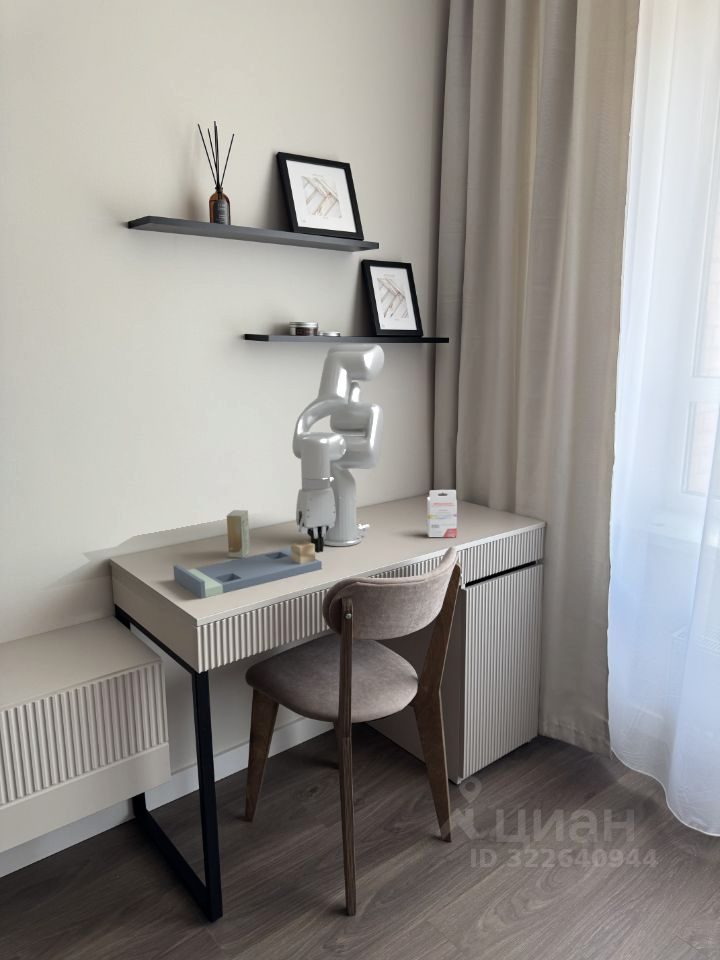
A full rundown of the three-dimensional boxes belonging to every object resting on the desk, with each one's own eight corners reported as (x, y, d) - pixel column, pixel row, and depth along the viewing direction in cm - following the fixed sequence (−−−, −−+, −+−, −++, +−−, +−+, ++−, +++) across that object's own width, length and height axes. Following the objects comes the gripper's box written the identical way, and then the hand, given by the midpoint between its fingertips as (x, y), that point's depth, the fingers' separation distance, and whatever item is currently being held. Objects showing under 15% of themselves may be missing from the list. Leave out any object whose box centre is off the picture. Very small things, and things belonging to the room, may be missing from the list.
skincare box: (235, 551, 204) (233, 509, 202) (250, 551, 203) (248, 509, 201) (228, 557, 198) (225, 515, 195) (243, 558, 197) (241, 515, 195)
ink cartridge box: (454, 533, 219) (455, 486, 216) (456, 537, 214) (457, 490, 212) (426, 533, 219) (427, 486, 216) (428, 538, 214) (428, 490, 211)
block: (305, 556, 191) (305, 540, 190) (315, 560, 188) (314, 544, 187) (291, 559, 189) (290, 543, 188) (300, 564, 185) (300, 547, 184)
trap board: (289, 554, 200) (289, 540, 199) (321, 568, 187) (321, 554, 187) (174, 580, 180) (173, 565, 179) (201, 598, 167) (200, 582, 167)
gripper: (330, 478, 194) (332, 543, 198) (284, 485, 185) (286, 553, 189) (347, 482, 188) (348, 549, 192) (299, 489, 179) (301, 559, 183)
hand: (317, 551), depth 190 cm, fingers closed
